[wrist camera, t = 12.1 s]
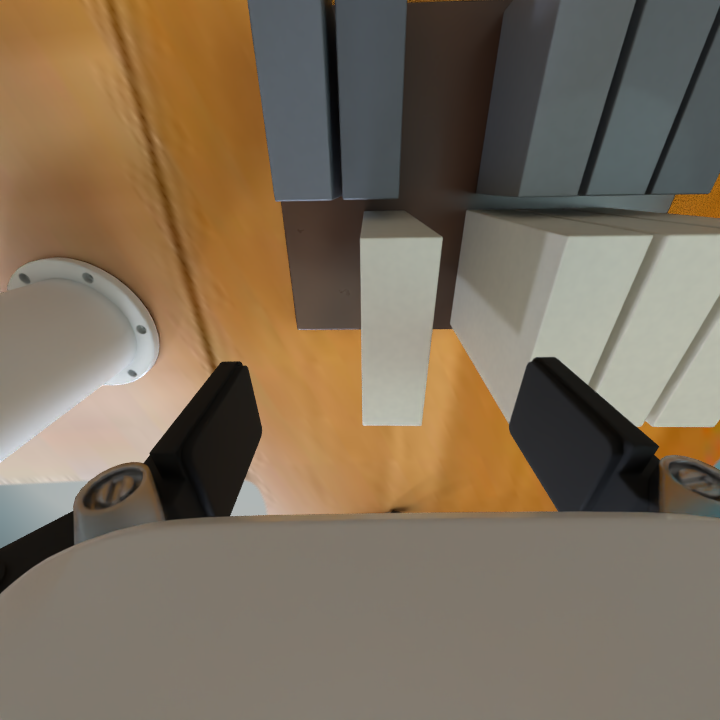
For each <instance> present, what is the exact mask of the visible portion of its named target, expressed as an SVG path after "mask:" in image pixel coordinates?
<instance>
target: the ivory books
mask: <svg viewBox="0 0 720 720" xmlns="http://www.w3.org/2000/svg"><path fill="white" fill-rule="evenodd" d="M450 325H451V327H452V328H453V330H454V332H455V333H456V335H457V337H458V338H459V340H460V342H461V343H462V345H463V347H464V349H465V350H466V352H467V354H468V355H469V357H470V359H471V360H472V362H473V364H474V365H475V367H476V369H477V371H478V372H479V374H480V376H481V377H482V379H483V381H484V382H485V384H486V386H487V387H488V389H489V391H490V393H491V394H492V396H493V398H494V399H495V401H496V403H497V404H498V406H499V408H500V410H501V411H502V413H503V415H504V416H505V418H506V420H507V421H508V423H509V422H510V419H511V416H512V412H513V409H514V406H515V402H516V399H517V396H518V392H519V389H520V386H521V382H522V379H523V376H524V372H525V369H526V366H527V364H528V363H529V362H532V360H533V359H534V358H536V357H556V358H557V359H559V360H560V361H561V362H562V363H563V364H564V365H565V366H567V367H568V368H569V369H570V370H571V371H572V372H574V373H575V374H576V375H577V376H578V377H579V378H581V379H582V380H583V381H584V382H585V383H586V384H587V385H589V386H590V387H591V388H592V389H593V390H594V391H596V392H597V393H598V394H599V395H600V396H601V397H602V398H604V399H605V400H606V401H607V402H608V403H609V404H611V405H612V406H613V407H614V408H615V409H616V410H618V411H619V412H620V413H621V414H622V415H623V416H624V417H626V418H627V419H628V420H629V421H630V422H631V423H633V424H634V425H635V426H642V424H643V423H644V421H646V422H648V423H649V424H650V425H651V426H653V427H714V426H715V425H716V423H717V422H718V421H719V419H720V218H710V217H699V216H689V215H678V214H667V213H657V212H646V211H636V210H625V209H615V208H565V209H516V210H515V211H514V210H509V209H491V210H466V216H465V223H464V230H463V237H462V244H461V251H460V258H459V265H458V272H457V279H456V286H455V293H454V299H453V306H452V313H451V320H450Z"/></svg>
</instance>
